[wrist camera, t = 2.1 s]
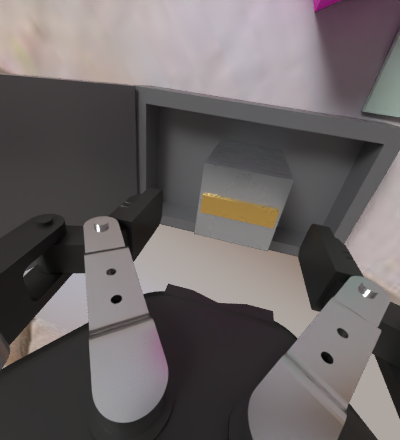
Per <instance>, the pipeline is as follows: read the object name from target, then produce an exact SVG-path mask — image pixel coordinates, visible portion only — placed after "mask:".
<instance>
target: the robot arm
mask: <svg viewBox="0 0 400 440" xmlns="http://www.w3.org/2000/svg"><path fill="white" fill-rule="evenodd" d="M162 206H163V191H162V190H159V189H154V188H150V187H149V188H147V189H146V190H145V191H144V192H143V193H142V194H136V195H134V196H131V197H129V198H128V199H127V200H126V201H125V202H124V203H122V204H121V206H119V207H118V208H117V209H116V210H114V211H113V212H112V213H111V214H110V215H109V216H108V217H107V216H100V217H95V218H92V219H90V220H88V221H87V222H85V224H84V226H72V225H65V220H64V218H63V217H62V216H60V215H57V214H43V215H38V216H35V217H33V218H31V219H29V220H27V221H26V222H24V223H23V224H21V225H20V226H18V227H17V228H15V229H13V230H12V231H10V232H9V233H7V234H6V235H4V236H3V237H1V238H0V440H377V438H376V437H375V436H374V434H373V433H372V432H371V430H369V428H368V427H367V425H366V424H365V423H364V422H363V420H362V419H361V418H360V416H359V415H358V414H357V413H356V411H355V410H354V409H353V408H352V406H351V405H350V404H349V402H350V400H351V397H352V395H353V393H354V391H355V389H356V386H357V384H358V382H359V380H360V377H361V375H362V373H363V371H364V369H365V367H366V364H367V362H368V360H369V358H370V355H371V353H372V354H374V355H375V357H376V360H377V362H378V365H379V367H380V370H381V372H382V375H383V377H384V380H385V383H386V385H387V388H388V390H389V393H390V395H391V398H392V400H393V403H394V405H395V408H396V410H397V413H398V416H399V418H400V306H399V305H397V304H394V303H392V302H390V297H389V295H388V293H387V292H386V291H385V290H384V289H383V288H382V287H381V286H379V285H378V284H377V283H375V282H373V281H372V280H370V279H367V278H365V277H364V276H363V275H362V273H361V271H360V270H359V268H358V266H357V264H356V263H355V261H354V260H353V257H352V256H351V254H350V252H349V251H348V249H347V247H346V246H345V245H344V244H343V243H342V242H341V241H340V240H339V239H338V238H335V236H334V234H333V233H332V231H331V229H330V227H327V226H323V225H318V224H312V225H311V226H310V228H309V230H308V232H307V234H306V236H305V238H304V240H303V242H302V244H301V246H300V249H299V254H298V258H299V262H300V266H301V270H302V274H303V278H304V281H305V286H306V289H307V293H308V297H309V301H310V305H311V308H312V310H316V311H320V313H319V314H318V315H317V316H316V318H315V319H314V320H313V321H312V323H311V324H310V325H309V326H308V327H307V329H306V330H305V331H304V332H303V333H302V335H301V336H300V337H299V338H298V339H297V338H296V337H295V336H294V335H293V334H292V333H291V332H290V331H289V330H287V329H286V328H285V327H283V326H282V325H280V324H279V323H277V322H275V321H274V319H273V311H270V310H266V309H262V308H258V307H254V306H251V305H247V304H227V303H217V302H215V301H213V300H211V299H209V298H207V297H205V296H203V295H201V294H199V293H197V292H195V291H193V290H190V289H186V288H182V287H178V286H174V285H171V284H168V286H167V288H166V290H165V291H159V292H151V293H146V294H143V292H142V289H141V286H140V283H139V279H138V276H137V273H136V270H135V266H134V263H133V262H134V261H135V259H136V258H137V256H138V255H139V253H140V252H141V251H142V249H143V248H144V246H145V245H146V243H147V242H148V240H149V239H150V238H151V236H152V235H153V233H154V232H155V230H156V229H157V227H158V226H159V224H160V222H161V218H162ZM35 260H37V263H38V264H37V265H36V266H35V267H34V268H33V269H31V270H30V271H29V272H28V273H27V274H26V275H25V276H24V277H23V274H24V272H25V270H26V268H27V267H28V266H29V265H30V264H32V263H33V262H34V261H35ZM73 273H85V275H86V289H87V305H88V319H89V322H88V323H87V324H85V325H83V326H81V327H79V328H77V329H75V330H73V331H72V332H70V333H68V334H66V335H64V336H62V337H60V338H58V339H57V340H55V341H53V342H51V343H49V344H47V345H45V346H43V347H42V348H40V349H38V350H36V351H34V352H32V353H30V354H29V355H27V356H25V357H23V358H21V359H19V360H17V361H15V362H14V363H12V364H10V365H8V366H7V367H5V368H3V366H4V365H5V363H6V362H7V360H8V358H9V355H10V346H9V345H10V344H11V343H12V342H13V341H14V340H15V339H16V337H17V336H18V335H19V334H20V333H21V332H22V331H23V329H24V328H25V327H26V326H27V325H28V324H29V323H30V321H31V320H32V319H33V318H34V317H35V316H36V315H37V313H38V312H39V311H40V310H41V309H42V308H43V307H44V305H45V304H46V303H47V302H48V301H49V300H50V299H51V298H52V296H53V295H54V294H55V293H56V292H57V291H58V290H59V289H60V287H61V286H62V285H63V284H64V283H65V281H66V280H67V279H68V278H69V277H70V276H71V275H72V274H73ZM2 368H3V369H2Z"/></svg>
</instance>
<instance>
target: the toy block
mask: <svg viewBox="0 0 400 440" xmlns="http://www.w3.org/2000/svg"><path fill="white" fill-rule="evenodd" d="M313 1H314V12H316V11H319V10H321V9H323V8H325V7H327V6H330V5H332V4H334V3H336V2H338V1H341V0H313Z"/></svg>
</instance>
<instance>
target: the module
mask: <svg viewBox="0 0 400 440" xmlns="http://www.w3.org/2000/svg"><path fill="white" fill-rule="evenodd" d="M293 182H294V179H293V177H292V174H291V172H290V169H289V167H288V164H287V161H286V159H285V156H284V154H283V151H282V150H278V149H273V148H267V147H262V146H256V145H251V144H245V143H240V142H234V141H229V140H223V139H221V140H220V142H219V143H218V144H217V146H216V147H215V149H214V150H213V151H212V153H211V154H210V156H209V157H208V158H207V160H206V161H205V163H204V169H203V176H202V183H201V190H200V197H199V204H198V211H197V218H196V225H195V233H194V234H197V235H202V236H206V237H210V238H214V239H218V240H222V241H227V242H231V243H235V244H239V245H243V246H248V247H252V248H256V249H260V250H264V251H268V248H269V246H270V243H271V240H272V238H273V235H274V232H275V230H276V227H277V224H278V222H279V219H280V216H281V214H282V211H283V208H284V206H285V203H286V200H287V198H288V195H289V192H290V190H291V187H292V184H293Z"/></svg>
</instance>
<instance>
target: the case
mask: <svg viewBox="0 0 400 440" xmlns="http://www.w3.org/2000/svg"><path fill="white" fill-rule="evenodd" d="M221 139H223V140H229V141H234V142H240V143H245V144H251V145H256V146H262V147H267V148H273V149H278V150H282V151H283V154H284V156H285V159H286V161H287V164H288V167H289V169H290V172H291V174H292V177H293V179H294V182H293V184H292V187H291V190H290V192H289V195H288V198H287V200H286V203H285V206H284V208H283V211H282V214H281V216H280V219H279V222H278V224H277V227H276V230H275V232H274V235H273V238H272V240H271V243H270V246H269V248H268V250H272V251H276V252H280V253H285V254H289V255H293V256H298V254H299V249H300V246H301V244H302V242H303V240H304V238H305V236H306V234H307V232H308V230H309V228H310V226H311V225H312V224H318V225H323V226H327V227H330V229H331V231H332V233H333V234H334V236H335V238H338V239H339V240H340V241H341V242H342V243H343V244H344V243H345V241H346V239H347V238H348V236H349V234H350V233H351V231H352V229H353V228H354V226H355V224H356V223H357V221H358V219H359V218H360V216H361V214H362V213H363V211H364V209H365V208H366V206H367V204H368V202H369V201H370V199H371V197H372V196H373V194H374V192H375V191H376V189H377V187H378V186H379V184H380V182H381V181H382V179H383V177H384V176H385V174H386V172H387V171H388V169H389V167H390V166H391V164H392V162H393V161H394V159H395V157H396V156H397V154H398V152H399V150H400V127H398V126H394V125H391V124H387V123H381V122H374V121H368V120H362V119H356V118H349V117H343V116H337V115H331V114H324V113H318V112H312V111H306V110H299V109H293V108H287V107H280V106H274V105H268V104H262V103H255V102H249V101H243V100H237V99H230V98H224V97H218V96H212V95H205V94H199V93H193V92H187V91H180V90H174V89H168V88H162V87H155V86H142V85H133V86H132V85H128V84H117V83H106V82H95V81H83V80H72V79H61V78H50V77H39V76H28V75H16V74H5V73H0V238H1V237H3V236H4V235H6V234H7V233H9V232H10V231H12V230H13V229H15V228H17V227H18V226H20V225H21V224H23V223H24V222H26V221H27V220H29V219H31V218H33V217H35V216H38V215H43V214H57V215H60V216H62V217H63V218H64V220H65V225H72V226H84V224H85V222H87V221H88V220H90V219H92V218H95V217H100V216H107V217H108V216H109V215H110V214H111V213H112V212H113V211H114V210H116V209H117V208H118V207H119V206H121V204H122V203H124V202H125V201H126V200H127V199H128V198H129V197H131V196H134V195H136V194H142V193H143V192H144V191H145V190H146V189H147V188H149V187H150V188H154V189H159V190H162V191H163V206H162V218H161V222H160V224H162V225H166V226H171V227H175V228H179V229H183V230H188V231H192V232H195V225H196V218H197V211H198V204H199V197H200V190H201V183H202V176H203V169H204V163H205V161H206V160H207V158H208V157H209V156H210V154H211V153H212V151H213V150H214V149H215V147H216V146H217V144H218V143H219V142H220V140H221ZM37 264H38V263H37V260H35V261H34V262H33V263H32V264H30V265H29V266H28V267H27V268H26V270H29V269H31V268H33V267H35V266H36V265H37ZM26 270H25V271H26Z"/></svg>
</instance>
